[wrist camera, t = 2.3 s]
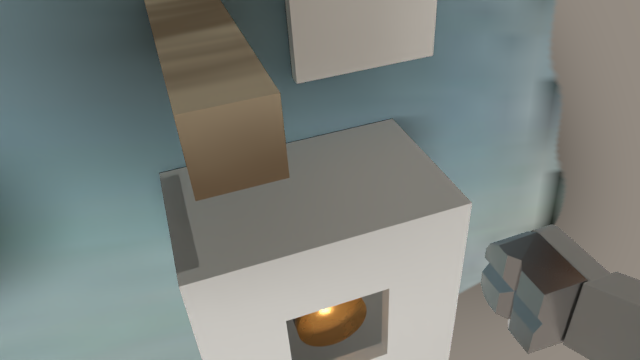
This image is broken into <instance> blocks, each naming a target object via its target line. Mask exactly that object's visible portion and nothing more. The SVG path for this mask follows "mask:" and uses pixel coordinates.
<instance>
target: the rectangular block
mask: <svg viewBox="0 0 640 360" xmlns="http://www.w3.org/2000/svg"><path fill="white" fill-rule="evenodd" d="M144 2H145V6H146V10H147V14H148V17H149V21H150V25H151V29H152V33H153V37H154V41H155V45H156V49H157V53H158V57H159V60H160V64H161V68H162V72H163V76H164V80H165V84H166V88H167V92H168V96H169V100H170V103H171V107H172V111H173V115H174V119H175V123H176V127H177V131H178V135H179V139H180V142H181V146H182V150H183V154H184V158H185V162H186V166H187V170H188V174H189V178H190V182H191V185H192V189H193V193H194V197H195V201H199V200H203V199H207V198H211V197H215V196H219V195H223V194H227V193H231V192H235V191H239V190H243V189H247V188H251V187H255V186H259V185H263V184H267V183H271V182H275V181H279V180H283V179H287V178H290V175H289V167H288V158H287V149H286V140H285V132H284V123H283V114H282V105H281V96H280V92H279V90H278V89H277V87H276V86H275V84H274V83H273V81H272V79H271V78H270V76H269V75H268V73H267V72H266V70H265V69H264V67H263V66H262V64H261V62H260V61H259V59H258V58H257V56H256V55H255V53H254V52H253V50H252V48H251V47H250V45H249V44H248V42H247V41H246V39H245V38H244V36H243V35H242V33H241V31H240V30H239V28H238V27H237V25H236V24H235V22H234V21H233V19H232V17H231V16H230V14H229V13H228V11H227V10H226V8H225V7H224V5H223V4H222V2H221V0H144Z"/></svg>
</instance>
